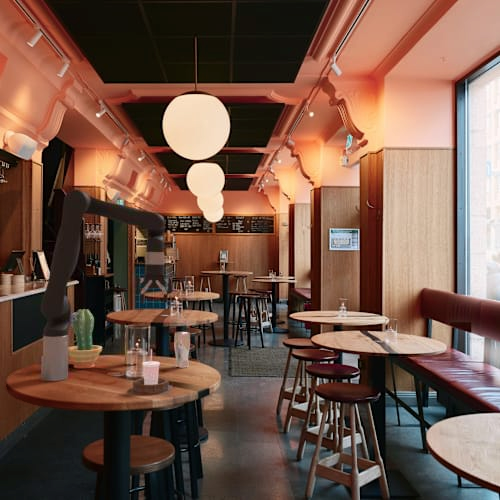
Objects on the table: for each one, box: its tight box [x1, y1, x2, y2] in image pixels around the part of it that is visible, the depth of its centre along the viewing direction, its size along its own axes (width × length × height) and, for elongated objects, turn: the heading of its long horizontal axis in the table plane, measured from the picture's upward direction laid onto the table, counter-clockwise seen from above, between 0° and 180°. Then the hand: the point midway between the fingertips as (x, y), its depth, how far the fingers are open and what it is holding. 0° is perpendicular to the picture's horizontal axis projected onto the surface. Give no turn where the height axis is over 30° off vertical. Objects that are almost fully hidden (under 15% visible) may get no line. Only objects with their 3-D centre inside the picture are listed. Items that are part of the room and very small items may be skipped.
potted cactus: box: [68, 308, 103, 369], centre depth 232 cm, size 15×15×25 cm
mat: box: [128, 384, 173, 395], centre depth 190 cm, size 14×12×1 cm
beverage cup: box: [142, 348, 161, 385], centre depth 191 cm, size 6×6×14 cm
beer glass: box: [173, 331, 191, 369], centre depth 232 cm, size 7×7×15 cm
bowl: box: [132, 376, 170, 395], centre depth 190 cm, size 12×12×3 cm
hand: (154, 303), depth 212 cm, fingers open, 8 cm apart
